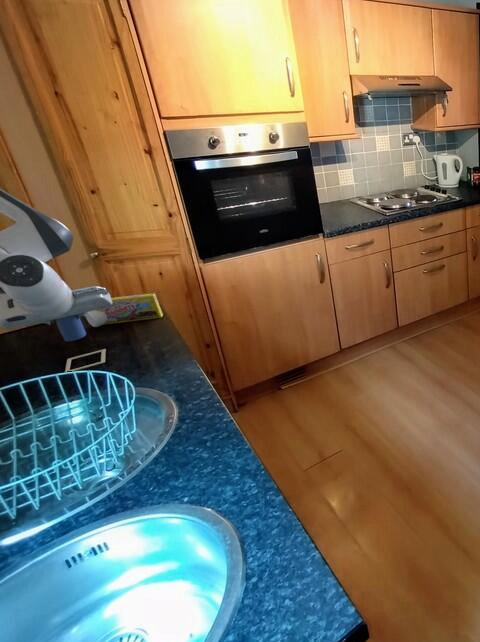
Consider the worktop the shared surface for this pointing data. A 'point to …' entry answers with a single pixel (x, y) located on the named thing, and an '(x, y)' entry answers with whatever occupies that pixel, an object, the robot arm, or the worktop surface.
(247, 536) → the worktop surface
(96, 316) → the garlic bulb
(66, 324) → the blue bottle
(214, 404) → the worktop surface
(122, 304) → the candy box
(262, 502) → the worktop surface
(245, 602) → the worktop surface
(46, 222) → the robot arm
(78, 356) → the spot outline
